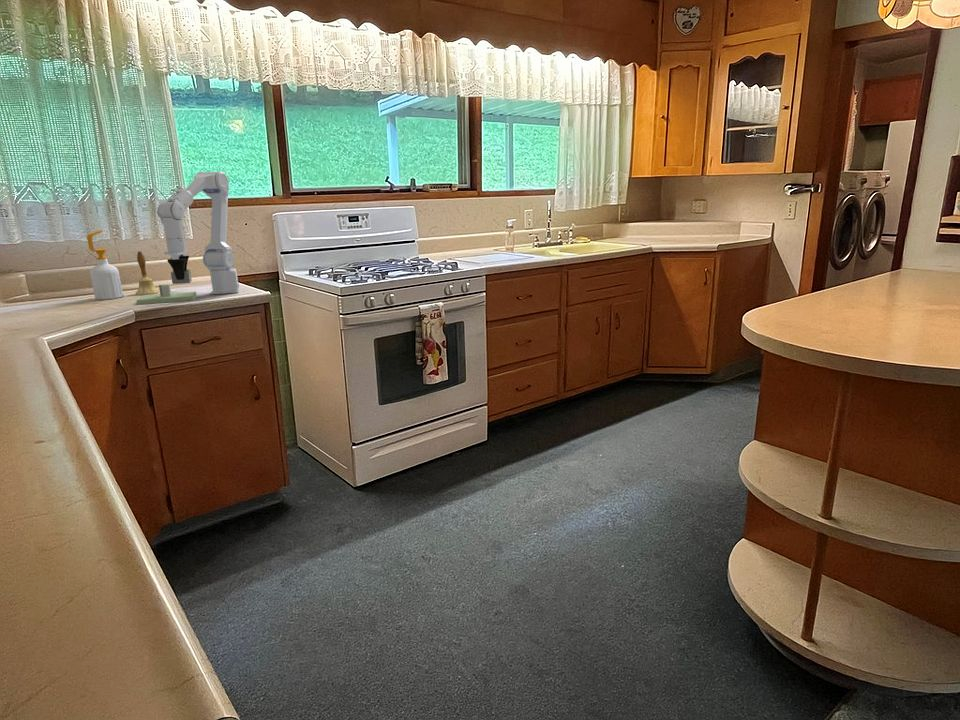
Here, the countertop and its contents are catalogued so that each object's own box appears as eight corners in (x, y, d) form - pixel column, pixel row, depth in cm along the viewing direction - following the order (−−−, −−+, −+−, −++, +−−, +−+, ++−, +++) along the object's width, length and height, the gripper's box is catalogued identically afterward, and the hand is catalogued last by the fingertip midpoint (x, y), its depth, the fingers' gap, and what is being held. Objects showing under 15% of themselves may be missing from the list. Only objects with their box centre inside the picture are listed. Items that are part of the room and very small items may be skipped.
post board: (196, 295, 227) (194, 280, 226) (193, 300, 218) (191, 284, 216) (143, 299, 222) (140, 284, 220) (137, 304, 213) (134, 288, 211)
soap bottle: (127, 297, 228) (114, 230, 221) (99, 301, 221) (85, 232, 214) (118, 294, 233) (106, 229, 227) (92, 298, 227) (78, 231, 220)
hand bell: (149, 295, 231) (141, 252, 226) (130, 295, 232) (122, 252, 228) (164, 291, 238) (157, 250, 234) (146, 291, 240) (138, 250, 236)
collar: (191, 280, 215) (190, 269, 213) (189, 283, 210) (188, 271, 208) (175, 281, 213) (173, 270, 212) (172, 284, 208) (170, 272, 207)
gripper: (165, 237, 213) (172, 276, 216) (158, 240, 199) (165, 282, 203) (187, 236, 215) (193, 274, 218) (182, 239, 201) (188, 280, 205)
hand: (181, 278), depth 211 cm, fingers closed on collar, 5 cm apart
